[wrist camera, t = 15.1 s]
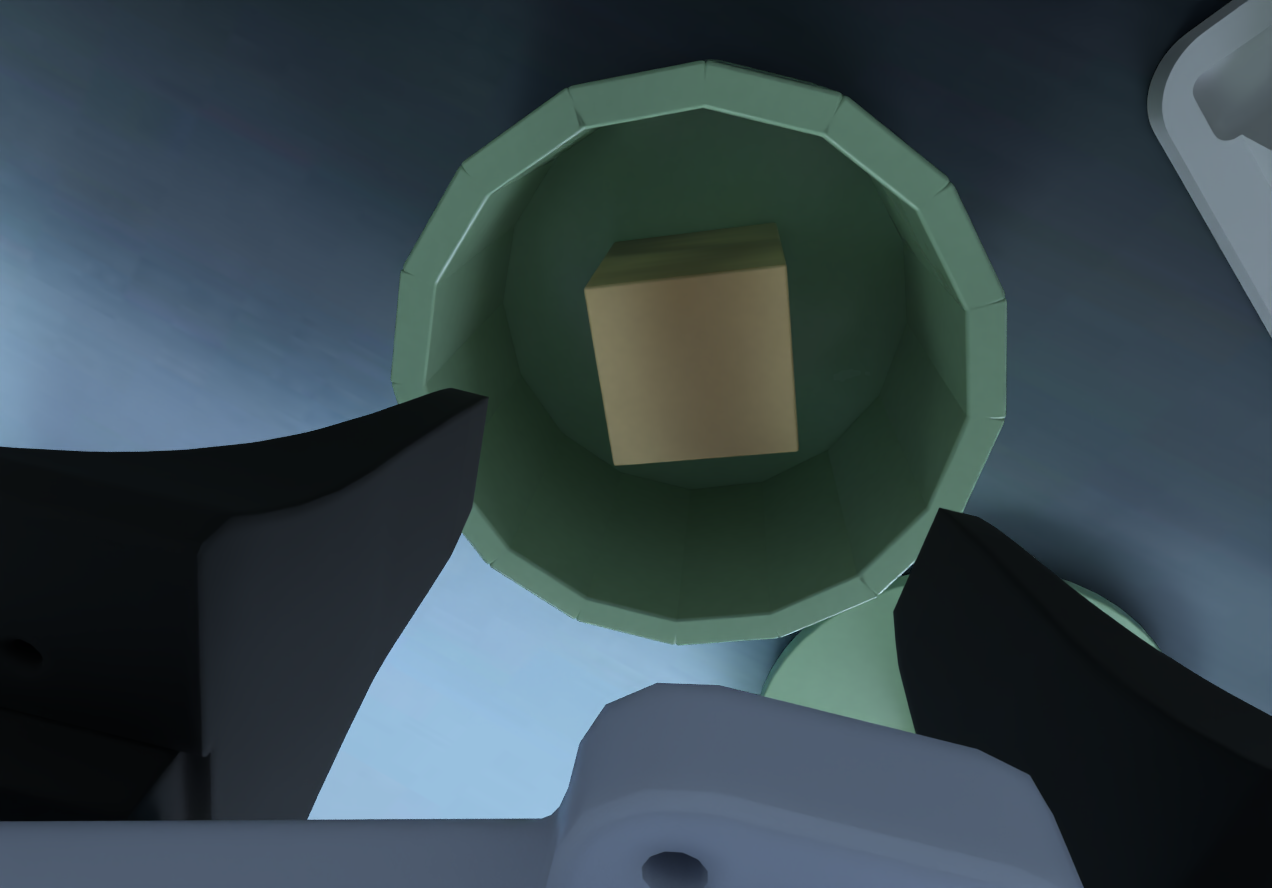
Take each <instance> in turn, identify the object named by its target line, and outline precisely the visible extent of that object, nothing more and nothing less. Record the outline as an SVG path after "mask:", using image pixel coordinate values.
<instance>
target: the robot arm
mask: <svg viewBox="0 0 1272 888" xmlns="http://www.w3.org/2000/svg"><path fill="white" fill-rule="evenodd" d="M488 399H489V397H487V396H483V395H479V394H475V393H471V392H467V391H463V390H459V389H455V388H446V389H442V390H439V391H435V392H432V393H429V394H426V395H423V396H421V397H418V398H415V399H412V400H409V401H407V402H404V403H401V404H398V405H395V406H392V407H389V408H387V409H384V410H381V411H378V412H375V413H372V414H369V415H366V416H362V417H359V418H356V419H352V420H349V421H345V422H342V423H339V424H335V425H332V426H328V427H325V428H322V429H318V430H314V431H310V432H306V433H301V434H297V435H292V436H287V437H281V438H276V439H271V440H265V441H260V442H253V443H246V444H237V445H227V446H218V447H208V448H198V449H189V450H172V451H149V452H84V451H65V450H46V449H28V448H11V447H0V888H1272V716H1270V715H1269V714H1267V713H1265V712H1263V711H1261V710H1259V709H1257V708H1256V707H1254V706H1252V705H1250V704H1248V703H1246V702H1244V701H1243V700H1241V699H1239V698H1237V697H1235V696H1233V695H1231V694H1230V693H1228V692H1226V691H1224V690H1223V689H1221V688H1219V687H1217V686H1216V685H1214V684H1212V683H1210V682H1209V681H1207V680H1205V679H1204V678H1202V677H1200V676H1199V675H1197V674H1195V673H1194V672H1192V671H1191V670H1189V669H1187V668H1186V667H1184V666H1183V665H1181V664H1180V663H1178V662H1176V661H1175V660H1173V659H1172V658H1170V657H1168V656H1167V655H1165V654H1164V653H1162V652H1160V651H1159V650H1157V649H1156V648H1154V647H1153V646H1151V645H1150V644H1148V643H1147V642H1145V641H1144V640H1142V639H1141V638H1139V637H1138V636H1137V635H1135V634H1134V633H1132V632H1131V631H1129V630H1128V629H1127V628H1125V627H1124V626H1123V625H1121V624H1120V623H1118V622H1117V621H1116V620H1114V619H1113V618H1112V617H1110V616H1109V615H1107V614H1106V613H1105V612H1103V611H1102V610H1101V609H1099V608H1098V607H1097V606H1095V605H1094V604H1093V603H1091V602H1090V601H1089V600H1087V599H1086V598H1085V597H1084V596H1082V595H1081V594H1080V593H1078V592H1077V591H1076V590H1074V589H1073V588H1072V587H1071V586H1069V585H1068V584H1067V583H1066V582H1064V581H1063V580H1062V579H1061V578H1059V577H1058V576H1057V575H1056V574H1054V573H1053V572H1052V571H1051V570H1049V569H1048V568H1047V567H1046V566H1044V565H1043V564H1042V563H1041V562H1039V561H1038V560H1037V559H1036V558H1034V557H1033V556H1032V555H1031V554H1029V553H1028V552H1027V551H1026V550H1024V549H1023V548H1022V547H1021V546H1019V545H1018V544H1017V543H1016V542H1014V541H1013V540H1012V539H1010V538H1009V537H1008V536H1006V535H1005V534H1004V533H1002V532H1001V531H1000V530H998V529H997V528H995V527H994V526H992V525H991V524H989V523H988V522H986V521H984V520H983V519H981V518H979V517H976V516H972V515H968V514H964V513H960V512H956V511H952V510H948V509H944V508H940V507H939V509H938V511H937V514H936V516H935V518H934V520H933V523H932V525H931V527H930V529H929V532H928V534H927V536H926V538H925V541H924V543H923V545H922V547H921V550H920V552H919V554H918V557H917V559H916V561H915V563H914V566H913V568H912V570H911V572H910V575H909V577H908V579H907V581H906V584H905V586H904V588H903V590H902V593H901V595H900V597H899V599H898V602H897V604H896V606H895V608H894V611H893V617H894V630H895V643H896V651H897V660H898V667H899V671H900V675H901V680H902V683H903V687H904V691H905V695H906V699H907V703H908V707H909V711H910V714H911V718H912V722H913V726H914V729H915V733H916V734H914V733H910V732H906V731H902V730H898V729H894V728H890V727H886V726H882V725H878V724H874V723H870V722H866V721H862V720H857V719H853V718H849V717H845V716H841V715H837V714H833V713H829V712H825V711H821V710H817V709H813V708H809V707H805V706H801V705H797V704H793V703H789V702H785V701H781V700H777V699H772V698H768V697H764V696H760V695H756V694H752V693H748V692H744V691H740V690H736V689H732V688H728V687H724V686H720V685H696V684H670V683H656V684H653V685H651V686H649V687H646V688H644V689H642V690H639V691H637V692H635V693H632V694H630V695H628V696H625V697H623V698H620V699H618V700H616V701H613V702H611V703H609V704H606V705H605V707H604V708H603V710H602V711H601V712H600V714H599V715H598V717H597V718H596V720H595V721H594V723H593V724H592V726H591V727H590V729H589V730H588V732H587V733H586V735H585V736H584V737H583V739H582V740H581V742H580V744H579V748H578V752H577V756H576V760H575V764H574V768H573V772H572V775H571V779H570V783H569V787H568V790H567V792H566V794H565V796H564V798H563V801H562V803H561V805H560V807H559V808H558V809H557V810H556V811H555V812H554V813H553V814H552V815H550V816H547V817H545V818H542V819H365V820H307V819H308V816H309V814H310V812H311V810H312V807H313V805H314V803H315V801H316V799H317V796H318V794H319V792H320V790H321V788H322V785H323V783H324V781H325V779H326V777H327V775H328V773H329V770H330V768H331V766H332V764H333V762H334V760H335V758H336V756H337V753H338V751H339V749H340V747H341V745H342V743H343V741H344V738H345V736H346V734H347V732H348V730H349V728H350V726H351V724H352V722H353V720H354V718H355V716H356V714H357V712H358V710H359V708H360V706H361V704H362V701H363V699H364V697H365V695H366V693H367V691H368V689H369V687H370V685H371V683H372V681H373V679H374V677H375V676H376V674H377V672H378V670H379V669H380V667H381V665H382V663H383V662H384V660H385V658H386V657H387V655H388V653H389V652H390V650H391V649H392V647H393V646H394V644H395V642H396V641H397V639H398V638H399V636H400V635H401V633H402V632H403V630H404V629H405V627H406V625H407V624H408V622H409V621H410V619H411V618H412V616H413V615H414V613H415V611H416V610H417V608H418V607H419V605H420V604H421V602H422V601H423V599H424V598H425V596H426V594H427V593H428V591H429V590H430V588H431V587H432V585H433V583H434V582H435V580H436V579H437V577H438V576H439V574H440V572H441V571H442V569H443V568H444V566H445V565H446V563H447V561H448V560H449V558H450V556H451V555H452V552H453V550H454V548H455V546H456V544H457V542H458V539H459V537H460V535H461V533H462V531H463V528H464V526H465V524H466V521H467V519H468V517H469V514H470V512H471V510H472V507H473V500H474V493H475V487H476V480H477V473H478V467H479V460H480V453H481V446H482V440H483V433H484V426H485V420H486V413H487V406H488Z"/></svg>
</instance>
